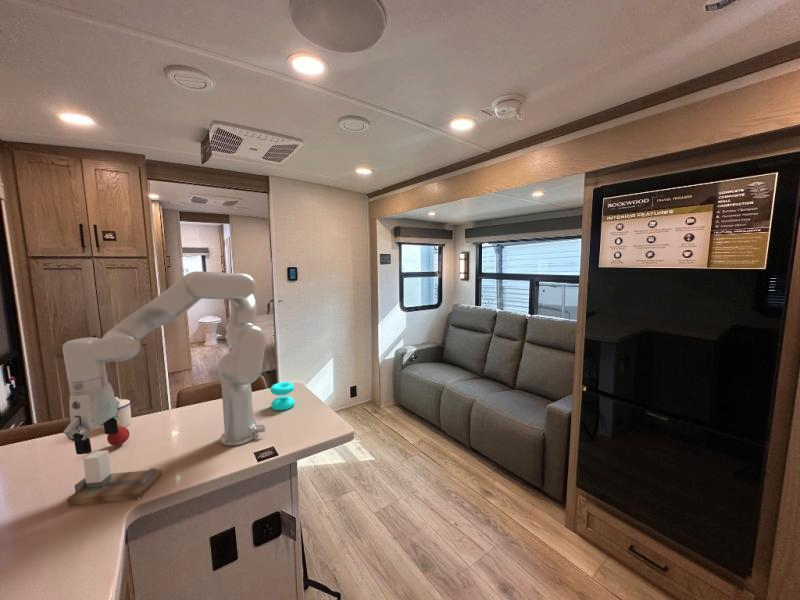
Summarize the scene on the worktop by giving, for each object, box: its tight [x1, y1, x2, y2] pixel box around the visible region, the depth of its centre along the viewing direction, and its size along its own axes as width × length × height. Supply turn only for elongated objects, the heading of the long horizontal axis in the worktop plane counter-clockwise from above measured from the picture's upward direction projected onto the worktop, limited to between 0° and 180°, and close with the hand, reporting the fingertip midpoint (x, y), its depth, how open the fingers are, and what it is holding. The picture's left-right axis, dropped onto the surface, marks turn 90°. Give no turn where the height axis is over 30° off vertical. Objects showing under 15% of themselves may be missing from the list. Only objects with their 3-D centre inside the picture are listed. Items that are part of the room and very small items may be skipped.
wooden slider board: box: [66, 467, 162, 507], centre depth 90 cm, size 17×10×4 cm, turn 98°
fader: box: [82, 449, 112, 488], centre depth 89 cm, size 4×4×9 cm
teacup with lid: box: [97, 396, 132, 432], centre depth 126 cm, size 12×9×12 cm
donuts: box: [269, 381, 296, 411], centre depth 144 cm, size 10×10×10 cm
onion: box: [106, 424, 130, 447], centre depth 113 cm, size 6×6×8 cm
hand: (98, 442), depth 89 cm, fingers open, 9 cm apart
